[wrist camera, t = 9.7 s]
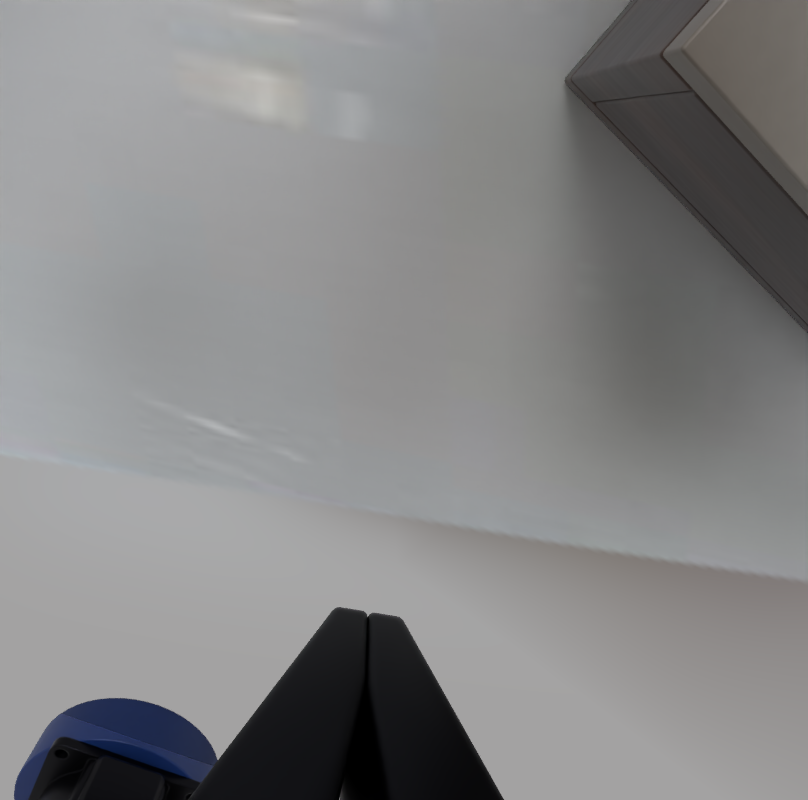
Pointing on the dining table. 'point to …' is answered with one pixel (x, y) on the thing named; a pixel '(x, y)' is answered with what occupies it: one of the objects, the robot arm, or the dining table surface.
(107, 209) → the dining table surface
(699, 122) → the wooden box
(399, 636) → the robot arm
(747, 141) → the grey square plate
